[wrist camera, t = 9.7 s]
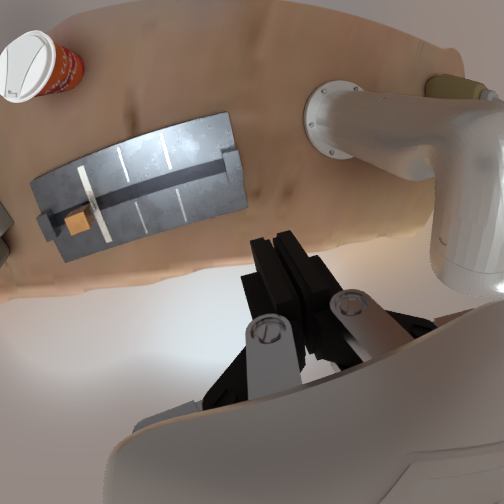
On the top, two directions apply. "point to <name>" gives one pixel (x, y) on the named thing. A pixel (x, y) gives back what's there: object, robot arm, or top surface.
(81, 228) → the fader tab
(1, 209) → the digital clock
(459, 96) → the squeeze bottle
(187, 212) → the grey slider board
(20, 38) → the paper cup
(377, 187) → the top surface
